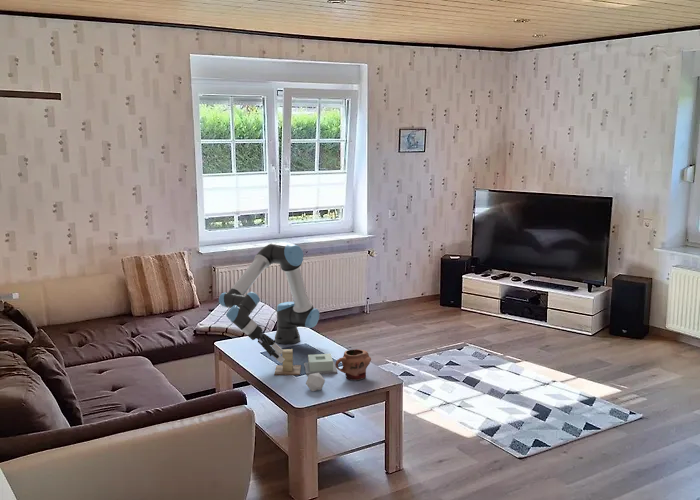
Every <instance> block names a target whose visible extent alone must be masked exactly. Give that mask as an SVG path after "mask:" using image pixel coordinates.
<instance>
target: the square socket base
mask: <svg viewBox="0 0 700 500" xmlns="http://www.w3.org/2000/svg"><path fill="white" fill-rule="evenodd" d="M335 364H336V362H335V361H333V357H332V355H331V353H322V354H321V353H320V354H319V353H317V354H315V353H314V354H307V362H304V363H303V365H304V366H303V367H304V370H305V375H306V376H309V374H314V373H320V375H330V374H331V375H333V374H334V375H335V374H338V369H337V368H336V365H335Z"/></svg>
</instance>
